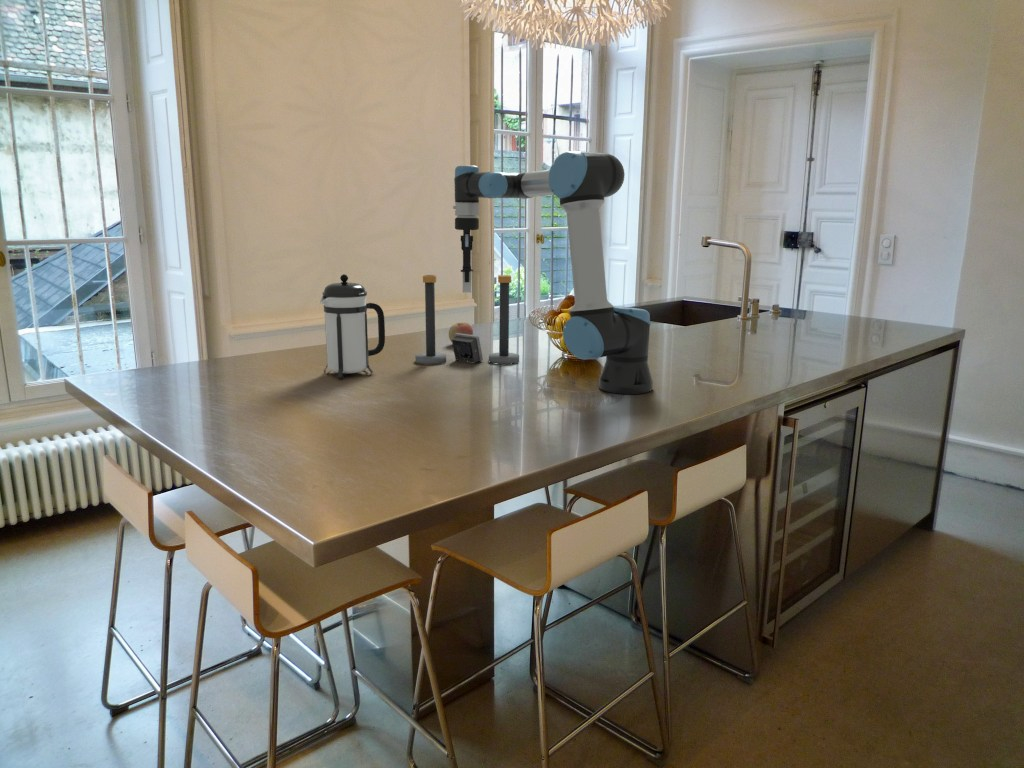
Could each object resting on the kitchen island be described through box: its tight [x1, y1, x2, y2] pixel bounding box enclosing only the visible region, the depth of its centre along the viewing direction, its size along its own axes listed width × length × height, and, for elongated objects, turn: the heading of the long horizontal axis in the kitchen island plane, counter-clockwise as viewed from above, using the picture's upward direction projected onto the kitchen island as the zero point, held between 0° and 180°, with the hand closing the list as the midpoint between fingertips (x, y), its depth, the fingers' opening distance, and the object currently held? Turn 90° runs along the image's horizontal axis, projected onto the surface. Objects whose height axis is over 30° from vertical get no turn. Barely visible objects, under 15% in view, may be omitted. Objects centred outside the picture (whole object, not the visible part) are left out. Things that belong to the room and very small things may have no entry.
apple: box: [448, 322, 474, 343], centre depth 275 cm, size 9×9×8 cm
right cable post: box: [488, 274, 520, 365], centre depth 246 cm, size 10×10×28 cm
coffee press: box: [319, 273, 386, 380], centre depth 227 cm, size 17×16×30 cm
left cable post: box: [414, 274, 447, 366], centre depth 245 cm, size 10×10×28 cm
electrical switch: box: [451, 333, 484, 364], centre depth 248 cm, size 9×5×9 cm, turn 57°
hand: (466, 292), depth 243 cm, fingers closed
